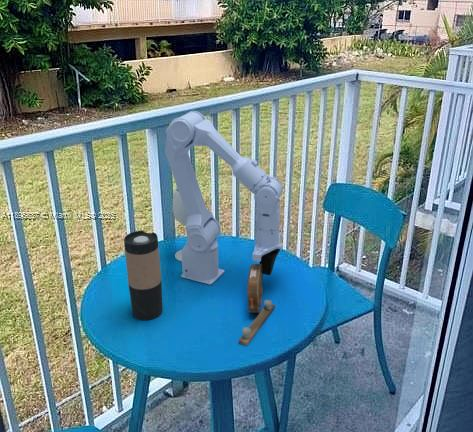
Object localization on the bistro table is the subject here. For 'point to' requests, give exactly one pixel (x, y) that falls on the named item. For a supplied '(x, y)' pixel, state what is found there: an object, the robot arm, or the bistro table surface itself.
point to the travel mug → (144, 274)
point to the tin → (255, 288)
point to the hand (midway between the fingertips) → (266, 273)
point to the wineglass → (179, 216)
